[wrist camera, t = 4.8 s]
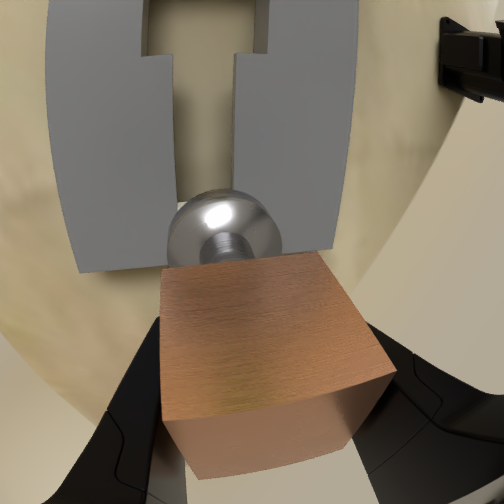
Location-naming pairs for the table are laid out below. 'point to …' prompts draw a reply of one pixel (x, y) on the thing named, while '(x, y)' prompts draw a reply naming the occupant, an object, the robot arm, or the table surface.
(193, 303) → the key peg
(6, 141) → the table surface
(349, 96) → the keyhole plate
